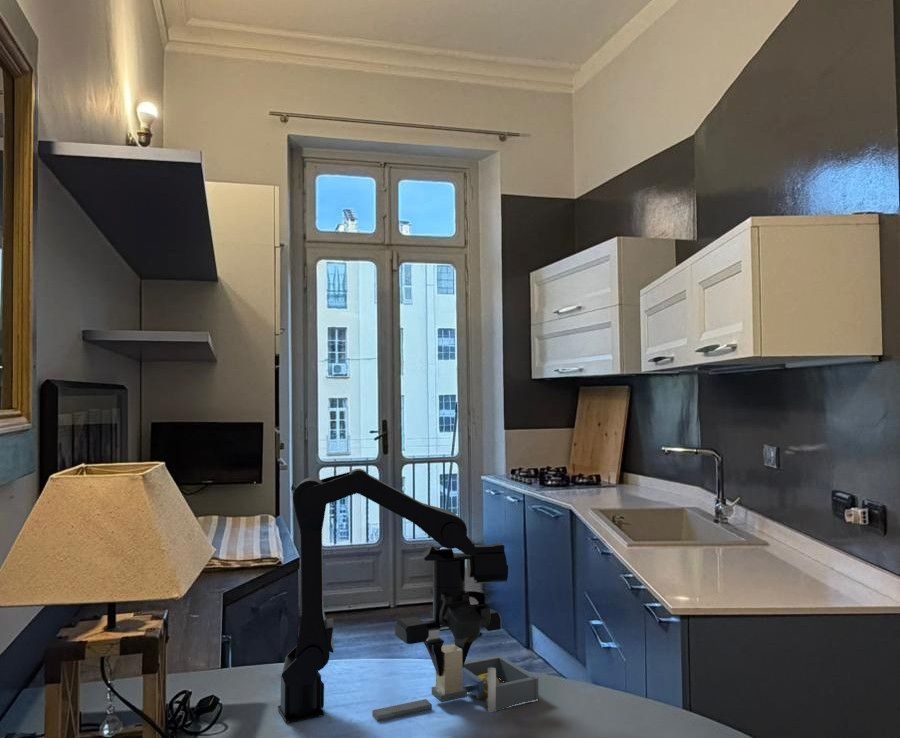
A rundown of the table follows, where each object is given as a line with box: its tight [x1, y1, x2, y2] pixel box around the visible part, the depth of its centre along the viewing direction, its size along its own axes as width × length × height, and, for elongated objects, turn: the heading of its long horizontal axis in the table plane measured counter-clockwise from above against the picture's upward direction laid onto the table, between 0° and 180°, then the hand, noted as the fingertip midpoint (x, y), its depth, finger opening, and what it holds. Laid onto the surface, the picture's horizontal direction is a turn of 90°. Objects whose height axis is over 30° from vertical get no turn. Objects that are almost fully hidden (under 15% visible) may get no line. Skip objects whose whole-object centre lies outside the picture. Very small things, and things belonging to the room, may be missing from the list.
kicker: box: [431, 643, 484, 703], centre depth 125 cm, size 8×7×8 cm
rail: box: [372, 698, 433, 723], centre depth 120 cm, size 10×2×1 cm, turn 117°
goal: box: [463, 655, 540, 713], centre depth 128 cm, size 10×13×7 cm
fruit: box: [472, 673, 502, 705], centre depth 127 cm, size 8×8×4 cm
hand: (449, 673), depth 124 cm, fingers closed on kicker, 3 cm apart
